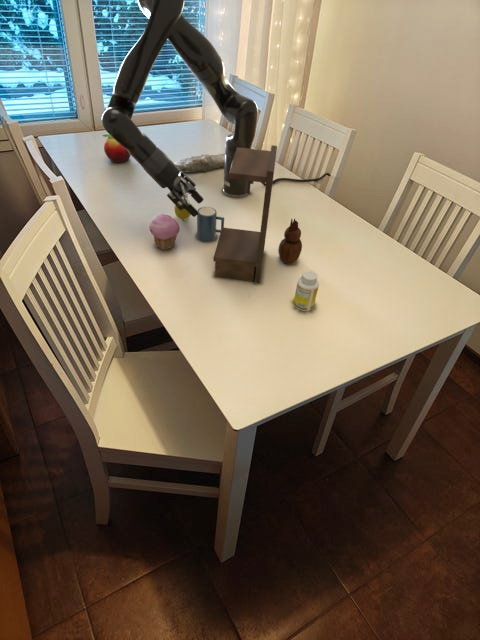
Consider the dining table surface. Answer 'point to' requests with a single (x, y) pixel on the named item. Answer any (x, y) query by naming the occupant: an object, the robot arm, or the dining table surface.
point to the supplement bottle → (306, 291)
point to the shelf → (242, 245)
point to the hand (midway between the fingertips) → (199, 208)
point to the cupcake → (164, 231)
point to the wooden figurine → (290, 244)
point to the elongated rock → (201, 163)
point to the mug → (207, 224)
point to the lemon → (181, 213)
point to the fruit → (115, 150)
